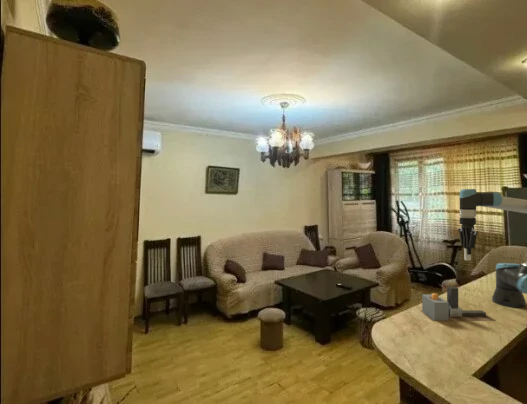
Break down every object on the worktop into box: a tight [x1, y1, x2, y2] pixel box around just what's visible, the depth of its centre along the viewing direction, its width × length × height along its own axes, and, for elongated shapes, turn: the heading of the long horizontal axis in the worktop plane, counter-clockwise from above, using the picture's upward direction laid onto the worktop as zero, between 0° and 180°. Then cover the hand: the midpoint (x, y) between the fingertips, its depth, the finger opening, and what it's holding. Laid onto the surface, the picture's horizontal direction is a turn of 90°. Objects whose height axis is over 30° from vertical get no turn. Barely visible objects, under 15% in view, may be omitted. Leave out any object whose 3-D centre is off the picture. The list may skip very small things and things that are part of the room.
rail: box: [462, 309, 487, 317], centre depth 154 cm, size 22×3×2 cm, turn 88°
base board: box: [420, 310, 497, 322], centre depth 155 cm, size 31×13×1 cm, turn 88°
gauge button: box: [431, 292, 439, 300], centre depth 155 cm, size 3×3×8 cm
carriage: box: [446, 285, 463, 317], centre depth 154 cm, size 6×6×14 cm
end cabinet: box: [421, 293, 449, 320], centre depth 155 cm, size 7×12×9 cm, turn 178°
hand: (467, 260), depth 163 cm, fingers closed
